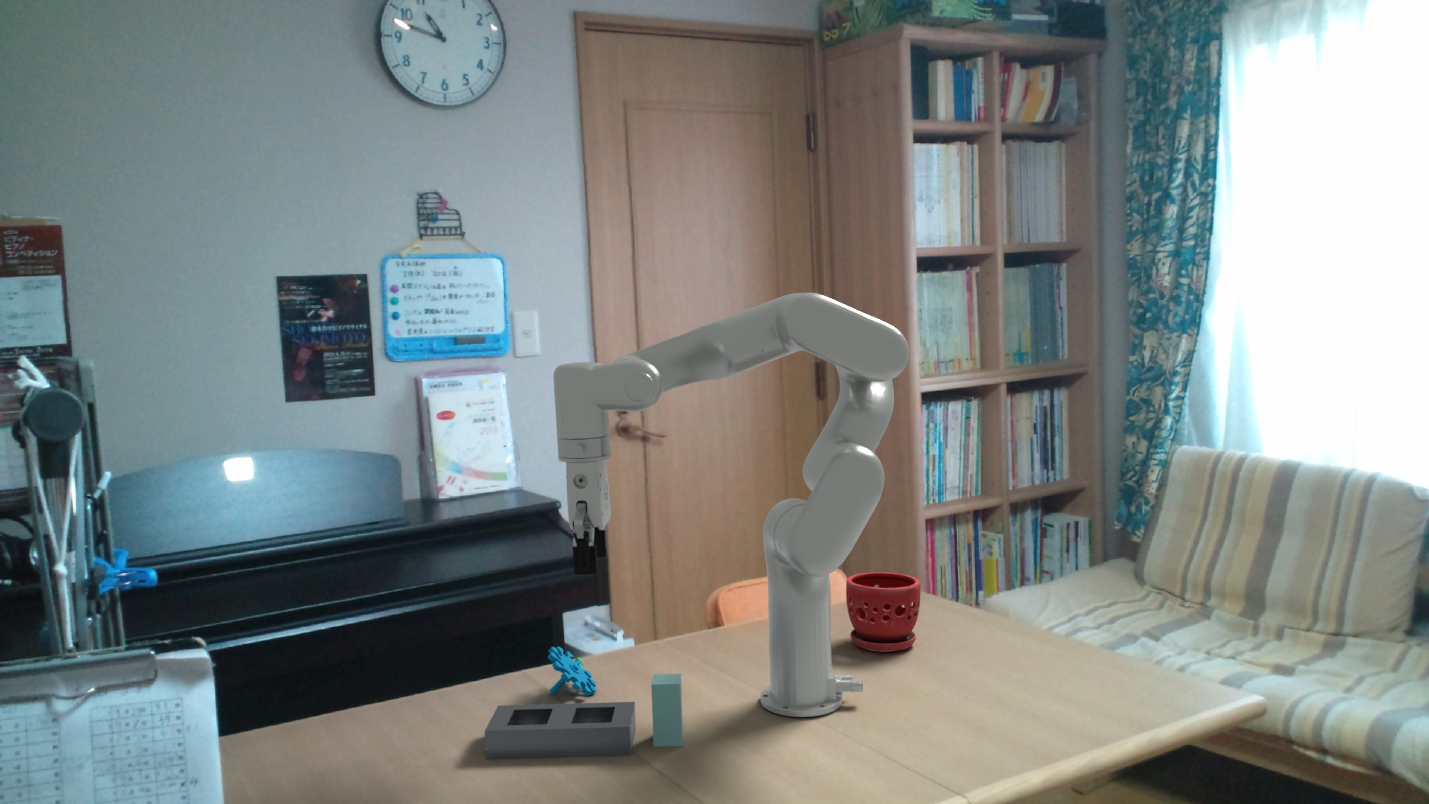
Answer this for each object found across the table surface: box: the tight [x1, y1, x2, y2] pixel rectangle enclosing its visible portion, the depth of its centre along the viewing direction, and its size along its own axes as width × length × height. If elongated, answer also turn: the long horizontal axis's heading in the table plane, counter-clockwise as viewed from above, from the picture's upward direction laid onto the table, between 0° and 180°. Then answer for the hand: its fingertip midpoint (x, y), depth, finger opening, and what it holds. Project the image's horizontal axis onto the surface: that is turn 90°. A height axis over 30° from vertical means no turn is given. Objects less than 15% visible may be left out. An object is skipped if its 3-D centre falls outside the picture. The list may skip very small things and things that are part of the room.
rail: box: [484, 701, 637, 760], centre depth 146 cm, size 20×9×4 cm, turn 90°
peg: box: [650, 673, 684, 748], centre depth 146 cm, size 4×4×9 cm
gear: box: [547, 646, 597, 697], centre depth 166 cm, size 11×6×10 cm
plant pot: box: [845, 571, 922, 654], centre depth 184 cm, size 13×13×12 cm
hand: (591, 564), depth 150 cm, fingers open, 9 cm apart
